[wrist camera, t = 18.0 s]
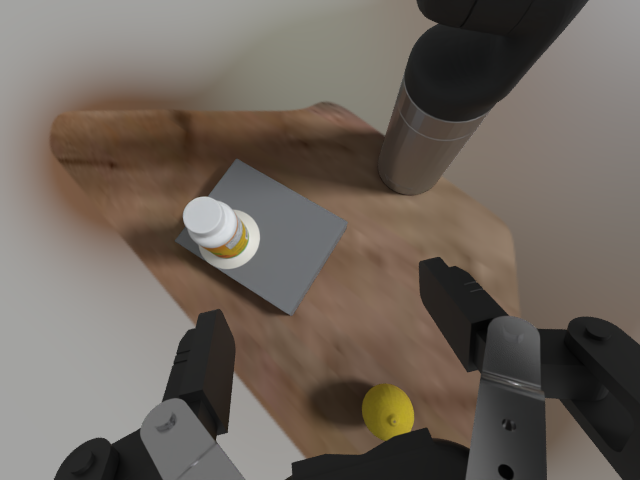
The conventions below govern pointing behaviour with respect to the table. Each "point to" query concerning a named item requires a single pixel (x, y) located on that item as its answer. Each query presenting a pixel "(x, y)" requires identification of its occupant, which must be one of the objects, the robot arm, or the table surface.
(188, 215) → the supplement bottle
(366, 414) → the lemon
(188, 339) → the robot arm
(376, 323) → the table surface
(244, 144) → the table surface
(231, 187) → the plinth
